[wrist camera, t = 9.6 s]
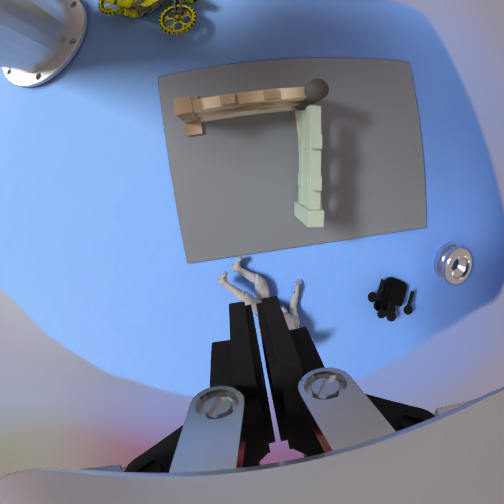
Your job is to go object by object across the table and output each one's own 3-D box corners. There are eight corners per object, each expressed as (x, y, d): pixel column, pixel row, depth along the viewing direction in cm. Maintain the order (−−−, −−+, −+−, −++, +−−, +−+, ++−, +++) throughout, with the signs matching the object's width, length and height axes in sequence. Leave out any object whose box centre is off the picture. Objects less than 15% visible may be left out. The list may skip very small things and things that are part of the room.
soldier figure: (256, 238, 35) (340, 310, 34) (242, 259, 39) (318, 324, 37) (210, 284, 30) (306, 365, 29) (200, 302, 34) (285, 374, 33)
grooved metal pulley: (450, 283, 37) (466, 250, 36) (462, 291, 34) (479, 257, 33) (427, 270, 36) (444, 235, 35) (439, 278, 33) (457, 241, 32)
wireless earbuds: (421, 288, 35) (409, 327, 35) (409, 286, 38) (398, 324, 37) (379, 270, 34) (365, 313, 34) (368, 270, 37) (355, 310, 36)
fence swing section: (295, 113, 30) (309, 103, 24) (308, 114, 30) (325, 104, 24) (294, 215, 32) (307, 227, 27) (307, 215, 33) (323, 227, 27)
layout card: (158, 77, 28) (157, 76, 28) (408, 62, 29) (409, 61, 28) (187, 262, 34) (187, 263, 34) (425, 226, 34) (426, 227, 34)
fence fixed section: (306, 84, 29) (324, 66, 23) (311, 120, 30) (332, 110, 24) (182, 99, 29) (169, 83, 22) (187, 136, 30) (175, 130, 23)
